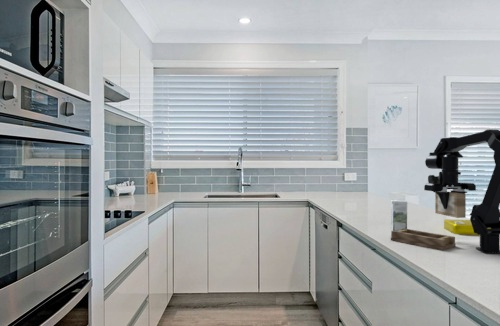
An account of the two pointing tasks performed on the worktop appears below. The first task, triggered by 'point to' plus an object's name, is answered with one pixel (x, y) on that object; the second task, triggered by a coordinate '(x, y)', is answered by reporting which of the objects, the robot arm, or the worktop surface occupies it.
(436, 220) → the worktop surface
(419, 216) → the worktop surface
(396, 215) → the syrup box
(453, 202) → the tan box
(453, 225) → the element tile
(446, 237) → the walnut ledge
